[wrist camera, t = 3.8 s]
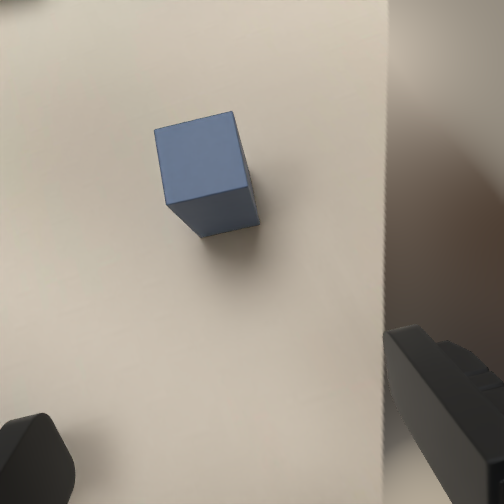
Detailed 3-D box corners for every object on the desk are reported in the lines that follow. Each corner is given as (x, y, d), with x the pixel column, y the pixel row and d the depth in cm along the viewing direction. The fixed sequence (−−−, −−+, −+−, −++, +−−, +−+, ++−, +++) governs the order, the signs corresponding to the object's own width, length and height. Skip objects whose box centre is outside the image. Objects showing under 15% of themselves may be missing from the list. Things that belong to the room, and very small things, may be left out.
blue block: (200, 238, 28) (165, 205, 20) (190, 181, 29) (153, 129, 21) (260, 224, 28) (248, 186, 20) (248, 167, 29) (232, 110, 21)
